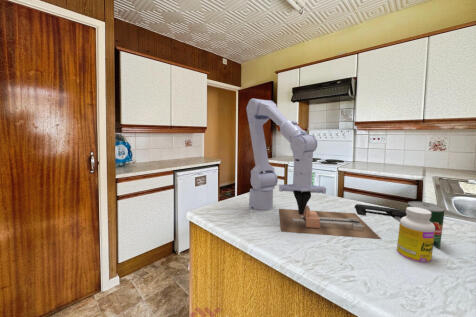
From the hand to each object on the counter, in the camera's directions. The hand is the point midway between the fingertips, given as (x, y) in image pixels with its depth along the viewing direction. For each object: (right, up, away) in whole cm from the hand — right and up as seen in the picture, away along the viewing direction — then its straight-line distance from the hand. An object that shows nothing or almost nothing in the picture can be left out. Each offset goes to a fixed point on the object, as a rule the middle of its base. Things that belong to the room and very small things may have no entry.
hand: (300, 213), depth 71 cm
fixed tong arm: (+8, -4, -2) cm, 9 cm away
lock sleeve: (+3, -3, 0) cm, 4 cm away
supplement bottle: (+23, -7, -17) cm, 29 cm away
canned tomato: (+32, -6, -9) cm, 34 cm away
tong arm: (+9, -3, 0) cm, 10 cm away
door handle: (+33, -5, +8) cm, 35 cm away
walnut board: (+8, -5, +2) cm, 9 cm away
